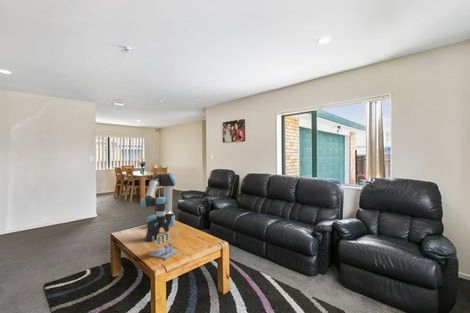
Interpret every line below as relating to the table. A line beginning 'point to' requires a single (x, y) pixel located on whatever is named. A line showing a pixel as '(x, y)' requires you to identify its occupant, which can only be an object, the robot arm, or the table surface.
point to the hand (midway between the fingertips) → (161, 241)
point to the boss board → (164, 251)
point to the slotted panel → (162, 237)
